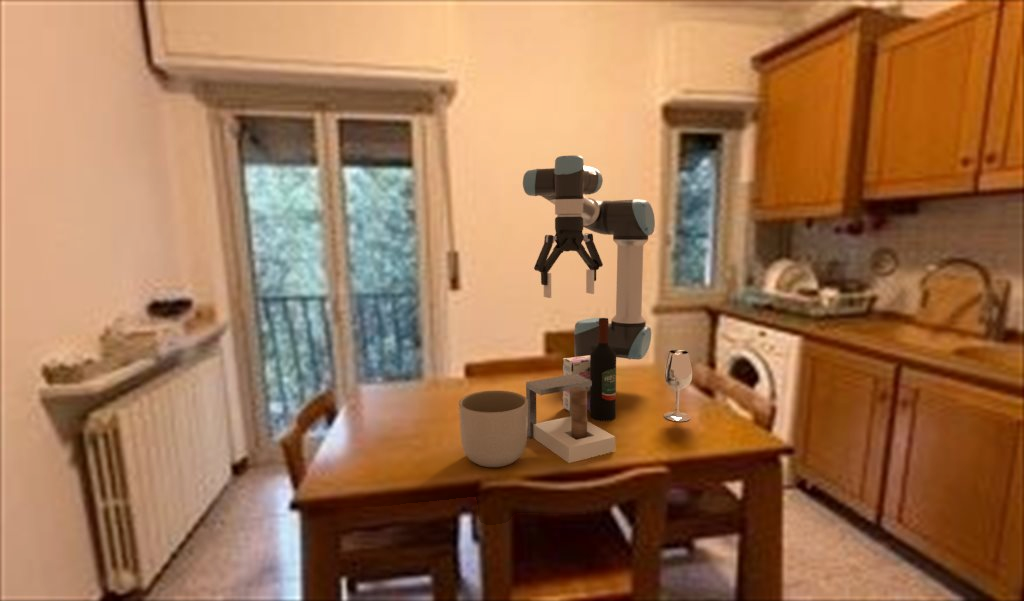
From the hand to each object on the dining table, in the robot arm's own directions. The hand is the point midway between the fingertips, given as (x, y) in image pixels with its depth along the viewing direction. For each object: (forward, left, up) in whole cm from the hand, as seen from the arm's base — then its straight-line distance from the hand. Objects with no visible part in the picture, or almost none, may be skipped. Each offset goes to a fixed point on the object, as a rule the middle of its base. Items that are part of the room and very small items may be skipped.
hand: (569, 295), depth 153 cm
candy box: (-15, -14, -39) cm, 44 cm away
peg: (+4, +11, -39) cm, 40 cm away
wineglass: (-34, +6, -39) cm, 52 cm away
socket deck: (+4, +8, -39) cm, 40 cm away
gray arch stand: (+4, +1, -39) cm, 39 cm away
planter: (+26, +6, -39) cm, 47 cm away
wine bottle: (-15, -5, -39) cm, 42 cm away
